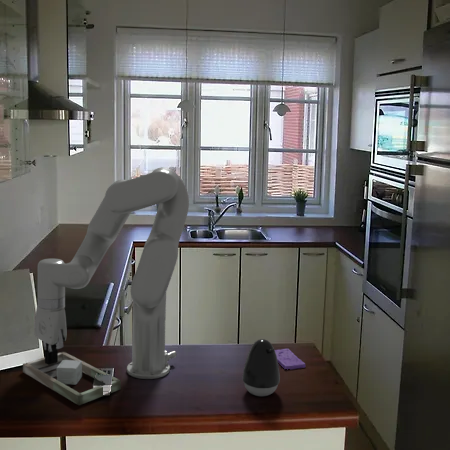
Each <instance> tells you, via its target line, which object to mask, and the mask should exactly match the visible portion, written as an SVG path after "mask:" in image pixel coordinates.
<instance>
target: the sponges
mask: <svg viewBox="0 0 450 450" xmlns="http://www.w3.org/2000/svg"><path fill="white" fill-rule="evenodd" d="M274 350H275V353H276V356H277V360H278V363H279V364H280V365H281V366H282V367H283V368H284V369H283V368H282V367H281V366H280V365H279V364H278V365H279V366H280V367H281V368H282V369H283V370H285V369H287V370H286V371H288V369H290V370H296V369H302V368H303V369H304V368H306V363H305V362H304V361H302V359H300V358H298V356H297V355H295V353H294V352H292V350H290V349H289V348H281V349H274Z"/></svg>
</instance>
